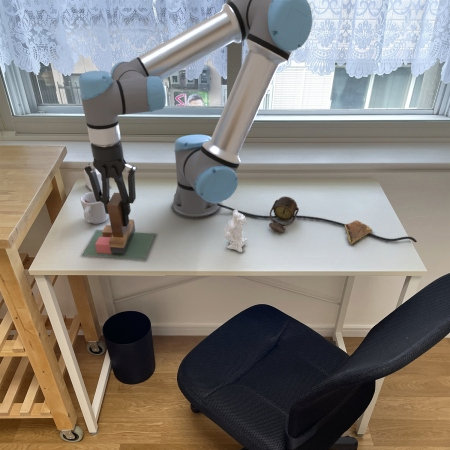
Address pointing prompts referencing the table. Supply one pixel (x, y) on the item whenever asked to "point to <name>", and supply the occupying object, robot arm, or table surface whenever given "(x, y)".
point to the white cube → (89, 179)
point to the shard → (357, 230)
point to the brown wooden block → (119, 226)
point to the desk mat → (135, 249)
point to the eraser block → (103, 245)
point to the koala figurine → (235, 231)
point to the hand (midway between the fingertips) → (120, 223)
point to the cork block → (107, 231)
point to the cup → (93, 209)
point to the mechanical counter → (283, 213)
